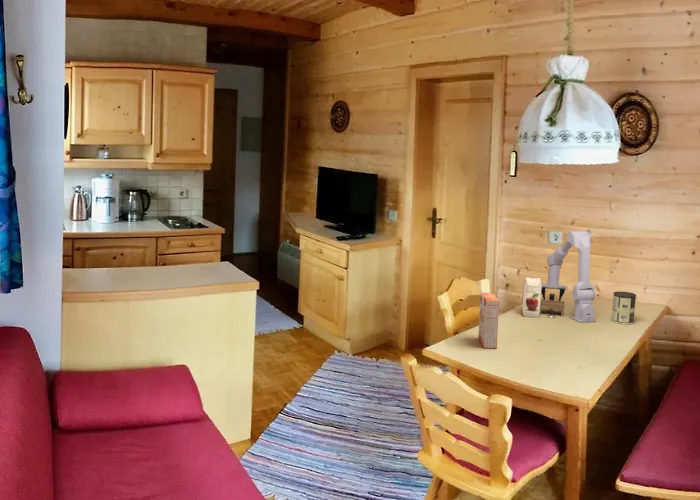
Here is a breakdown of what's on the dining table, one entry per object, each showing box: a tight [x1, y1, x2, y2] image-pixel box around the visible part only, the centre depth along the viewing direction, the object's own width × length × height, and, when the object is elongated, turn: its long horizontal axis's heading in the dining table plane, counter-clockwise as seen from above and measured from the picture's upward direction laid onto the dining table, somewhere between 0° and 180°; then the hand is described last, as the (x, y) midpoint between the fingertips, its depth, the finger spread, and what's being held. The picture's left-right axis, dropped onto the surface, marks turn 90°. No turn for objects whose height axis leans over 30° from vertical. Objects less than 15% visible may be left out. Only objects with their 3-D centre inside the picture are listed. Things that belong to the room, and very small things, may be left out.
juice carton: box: [521, 276, 543, 318], centre depth 330 cm, size 8×9×19 cm
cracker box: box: [477, 292, 500, 350], centre depth 281 cm, size 14×6×21 cm, turn 178°
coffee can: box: [610, 291, 637, 325], centre depth 324 cm, size 10×10×14 cm
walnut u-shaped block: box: [539, 299, 566, 317], centre depth 336 cm, size 8×12×6 cm
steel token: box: [546, 314, 556, 319], centre depth 330 cm, size 4×4×1 cm
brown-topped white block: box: [547, 292, 556, 313], centre depth 347 cm, size 15×3×7 cm, turn 163°
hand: (551, 302), depth 354 cm, fingers open, 7 cm apart
